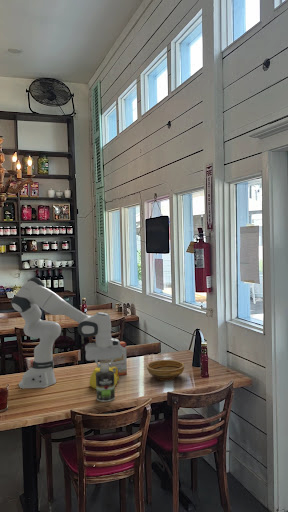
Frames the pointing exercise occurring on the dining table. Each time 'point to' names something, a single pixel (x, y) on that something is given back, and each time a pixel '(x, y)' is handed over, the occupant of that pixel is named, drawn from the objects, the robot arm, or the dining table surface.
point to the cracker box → (120, 361)
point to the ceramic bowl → (165, 369)
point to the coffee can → (105, 386)
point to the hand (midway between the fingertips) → (104, 366)
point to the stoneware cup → (104, 365)
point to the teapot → (93, 376)
